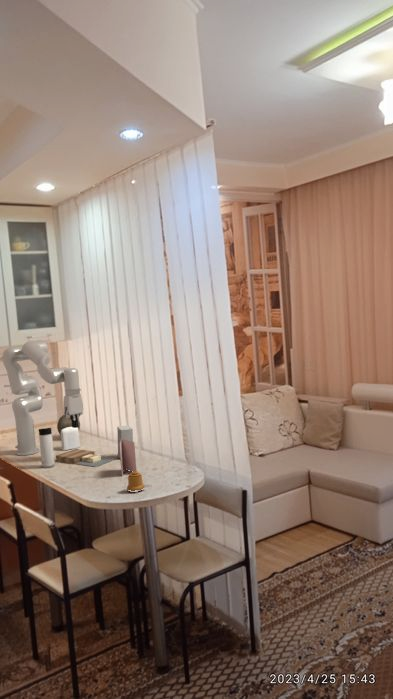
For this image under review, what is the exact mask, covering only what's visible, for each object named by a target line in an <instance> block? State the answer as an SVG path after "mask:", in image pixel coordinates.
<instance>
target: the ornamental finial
mask: <svg viewBox="0 0 393 699" xmlns="http://www.w3.org/2000/svg"><path fill="white" fill-rule="evenodd" d="M127 479H128V485H127V487H126V490H127V491H128V490H131V491H135V490H141V489H143V488H146V486H145V484H144V483H143V475H142V474H141V473H140V472H138V471H133V472H130V473H129V474H128V476H127Z"/></svg>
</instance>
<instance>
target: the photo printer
mask: <svg viewBox="0 0 393 699" xmlns="http://www.w3.org/2000/svg"><path fill="white" fill-rule="evenodd" d="M79 432H80V429H79V430H78V428H73V427H67V428H64V429H62V430H61V435H60V440H61V450H62V451H70V450H75V449H79V448H81V447H80V446H81V444H80V433H79Z"/></svg>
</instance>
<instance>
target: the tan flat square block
mask: <svg viewBox="0 0 393 699" xmlns="http://www.w3.org/2000/svg"><path fill="white" fill-rule="evenodd" d="M89 454H91V455H96V454H95V451H94V450H85V449H79V448H75V449H70V450H67V451H66V452H63V453H60V454H57V455H55V461H56V462H59V463H65V464H72V465H76V464H75V463H78V462H81V461H82V457H83V456H86V455H89Z"/></svg>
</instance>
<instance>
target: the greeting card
mask: <svg viewBox="0 0 393 699" xmlns="http://www.w3.org/2000/svg"><path fill="white" fill-rule="evenodd" d="M135 445H136V444H135V441H133V442H132V441H128V440H125V439H121V441H120V442H119V447H120V454H121V458H120V470H121V475H124V471H125V470H124V469H127V470H130V471H137V460H136V459H137V458H136V448H135ZM123 470H124V471H123ZM127 470H126V471H127ZM130 471H129V472H130ZM137 472H138V471H137Z"/></svg>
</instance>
